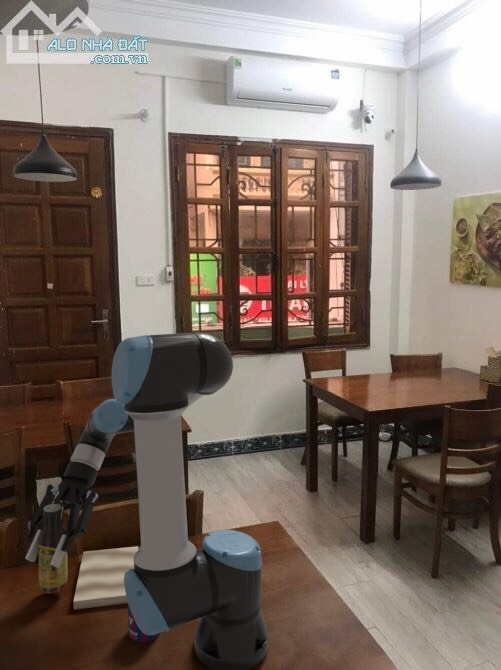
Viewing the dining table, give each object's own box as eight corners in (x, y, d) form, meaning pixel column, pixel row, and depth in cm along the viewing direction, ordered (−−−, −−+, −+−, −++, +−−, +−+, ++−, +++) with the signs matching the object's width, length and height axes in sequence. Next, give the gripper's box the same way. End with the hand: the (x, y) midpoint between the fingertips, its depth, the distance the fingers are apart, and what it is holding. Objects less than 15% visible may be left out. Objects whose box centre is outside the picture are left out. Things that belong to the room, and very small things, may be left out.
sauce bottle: (33, 592, 118) (28, 510, 115) (52, 576, 124) (48, 498, 121) (56, 598, 116) (52, 515, 113) (74, 582, 122) (71, 503, 119)
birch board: (137, 601, 118) (137, 593, 118) (73, 609, 115) (73, 601, 115) (138, 553, 137) (138, 546, 137) (83, 558, 134) (83, 551, 134)
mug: (122, 631, 109) (121, 601, 108) (162, 609, 116) (161, 581, 115) (139, 648, 104) (139, 617, 103) (179, 624, 111) (179, 595, 110)
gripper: (123, 477, 128) (85, 575, 115) (59, 467, 134) (17, 559, 121) (110, 465, 122) (69, 566, 109) (44, 455, 128) (-2, 550, 115)
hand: (41, 563), depth 115 cm, fingers closed on sauce bottle, 6 cm apart
